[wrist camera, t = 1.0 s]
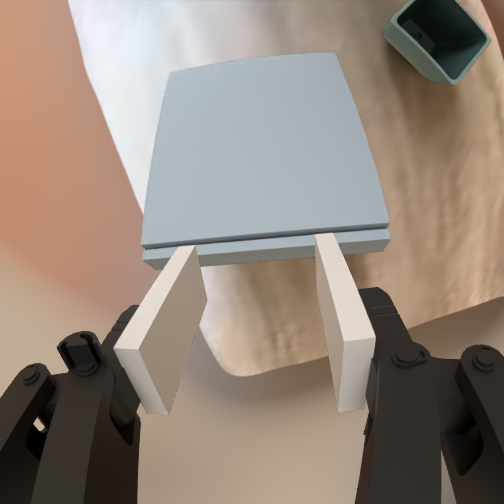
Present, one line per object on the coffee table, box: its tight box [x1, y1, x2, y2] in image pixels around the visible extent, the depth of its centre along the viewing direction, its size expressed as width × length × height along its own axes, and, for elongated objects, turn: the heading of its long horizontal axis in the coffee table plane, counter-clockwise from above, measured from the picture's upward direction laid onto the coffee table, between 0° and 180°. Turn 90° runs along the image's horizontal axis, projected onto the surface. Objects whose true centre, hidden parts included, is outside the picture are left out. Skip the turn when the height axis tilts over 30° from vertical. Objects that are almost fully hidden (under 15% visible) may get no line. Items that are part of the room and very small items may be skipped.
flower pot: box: [382, 0, 491, 86], centre depth 24 cm, size 9×9×9 cm
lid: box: [141, 53, 391, 270], centre depth 21 cm, size 17×14×2 cm
